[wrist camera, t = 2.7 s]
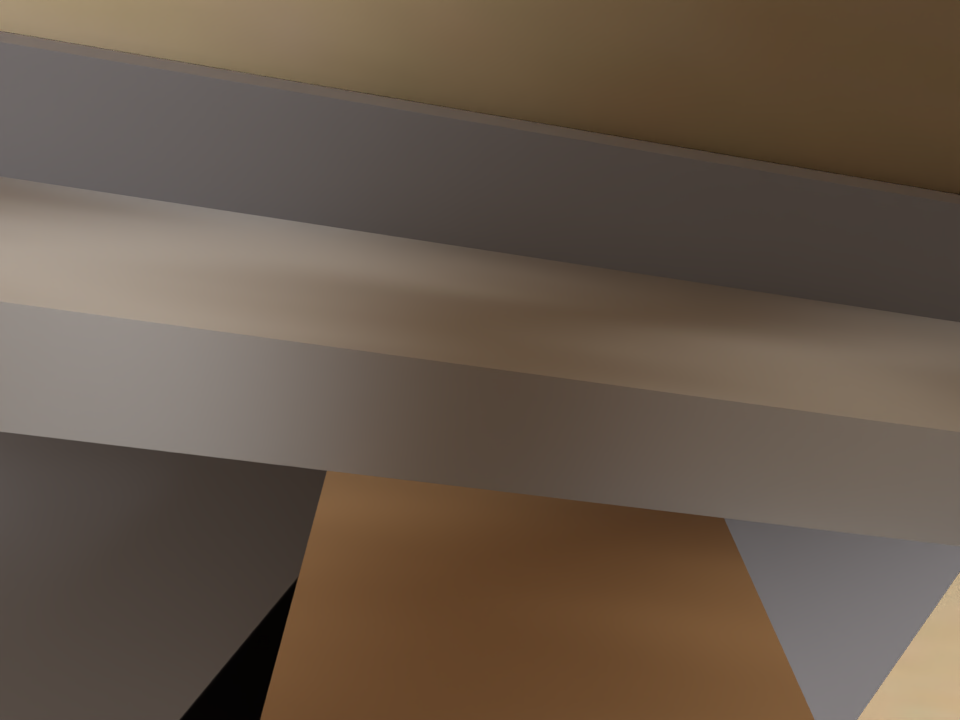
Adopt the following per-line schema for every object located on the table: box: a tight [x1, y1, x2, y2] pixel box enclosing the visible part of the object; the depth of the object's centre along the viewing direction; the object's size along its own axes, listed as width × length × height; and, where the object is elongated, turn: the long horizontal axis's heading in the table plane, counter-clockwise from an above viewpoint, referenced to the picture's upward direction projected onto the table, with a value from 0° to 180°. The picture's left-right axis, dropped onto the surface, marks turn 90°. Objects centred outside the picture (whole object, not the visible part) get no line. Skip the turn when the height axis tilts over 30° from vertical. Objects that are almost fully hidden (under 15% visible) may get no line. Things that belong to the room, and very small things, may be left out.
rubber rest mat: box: [0, 31, 960, 720], centre depth 10 cm, size 14×11×1 cm
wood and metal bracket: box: [0, 176, 960, 720], centre depth 8 cm, size 12×8×5 cm
